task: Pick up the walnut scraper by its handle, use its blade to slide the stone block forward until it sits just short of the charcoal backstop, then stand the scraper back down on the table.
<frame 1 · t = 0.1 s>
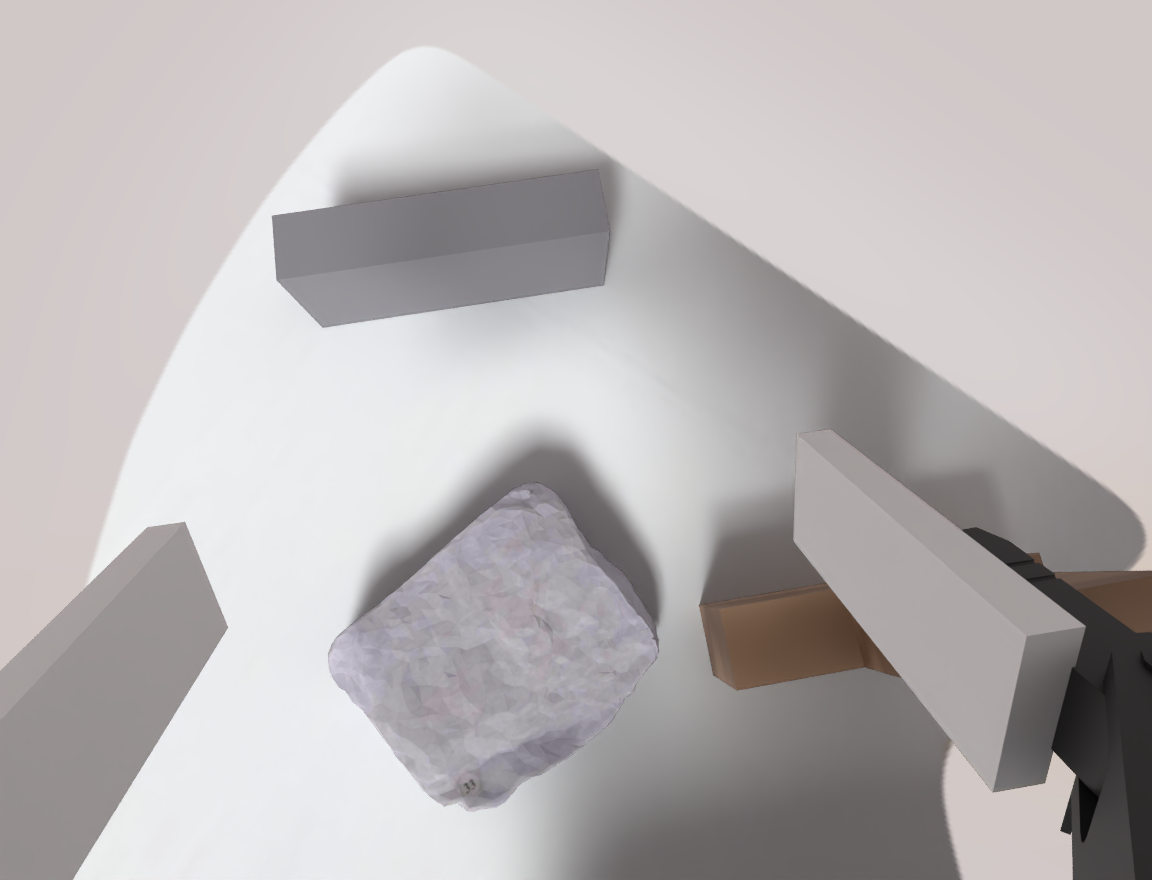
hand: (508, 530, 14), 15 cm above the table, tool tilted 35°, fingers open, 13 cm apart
walnut scraper: (847, 614, 28), on the table
stone block: (511, 645, 28), on the table
charcoal backstop: (460, 278, 32), on the table
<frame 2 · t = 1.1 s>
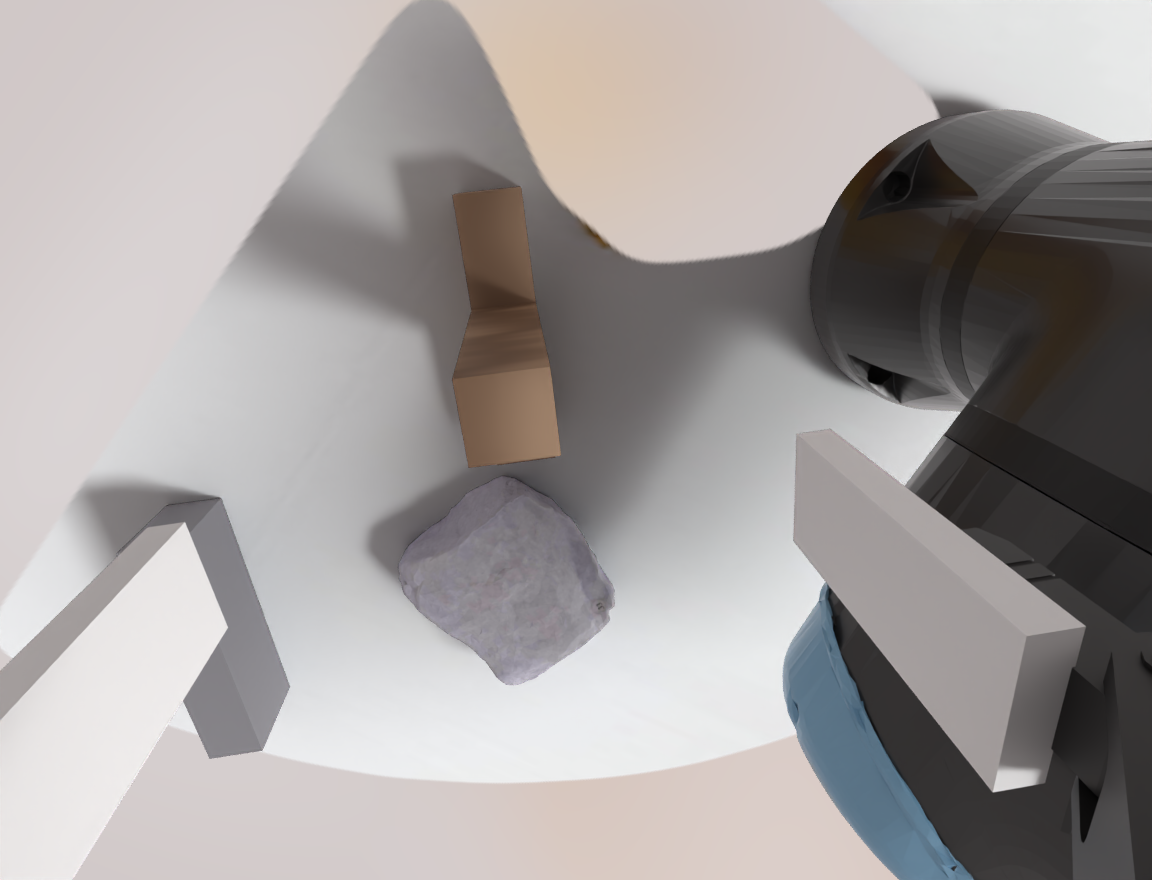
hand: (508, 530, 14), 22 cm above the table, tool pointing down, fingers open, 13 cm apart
walnut scraper: (508, 320, 34), on the table
stone block: (518, 561, 40), on the table
charcoal backstop: (232, 602, 38), on the table
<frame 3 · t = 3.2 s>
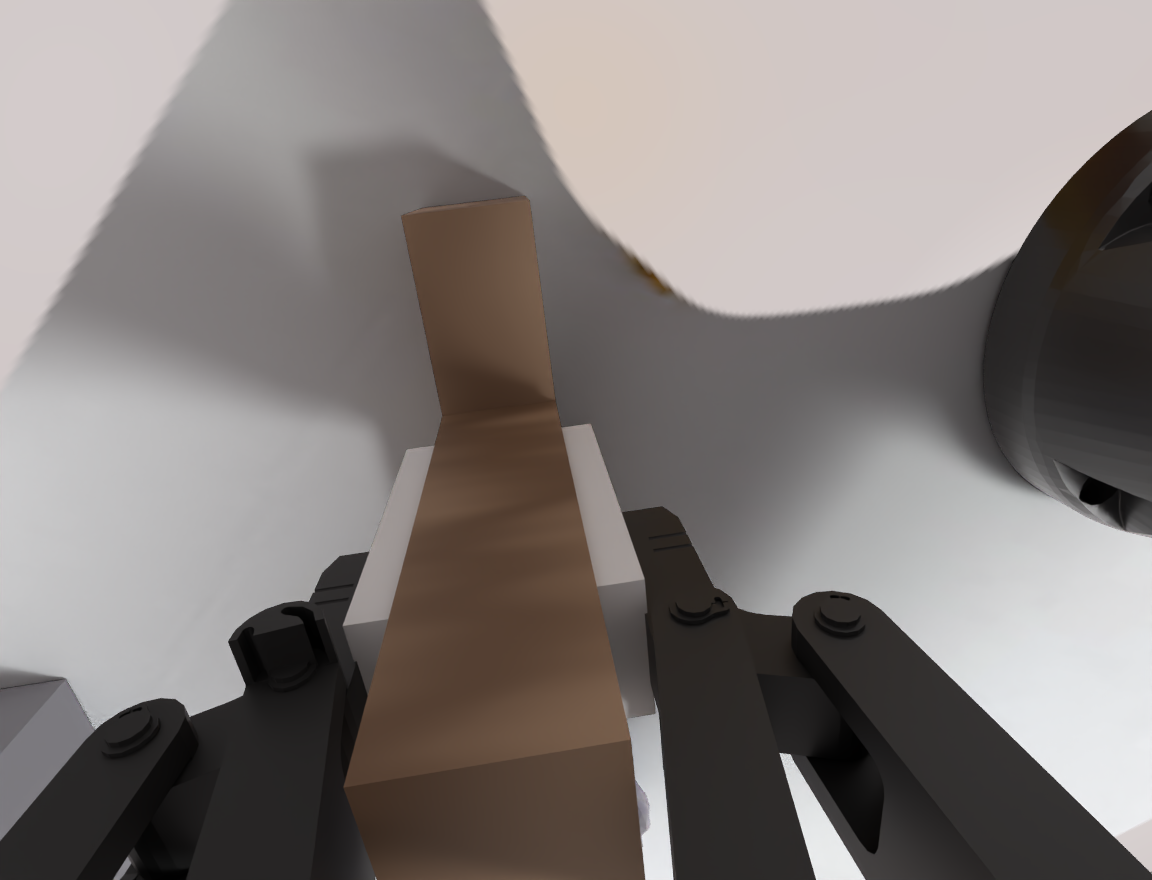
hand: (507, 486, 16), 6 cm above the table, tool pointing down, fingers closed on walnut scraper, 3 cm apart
walnut scraper: (507, 409, 21), on the table, touching gripper
stone block: (508, 750, 27), on the table
charcoal backstop: (101, 815, 26), on the table
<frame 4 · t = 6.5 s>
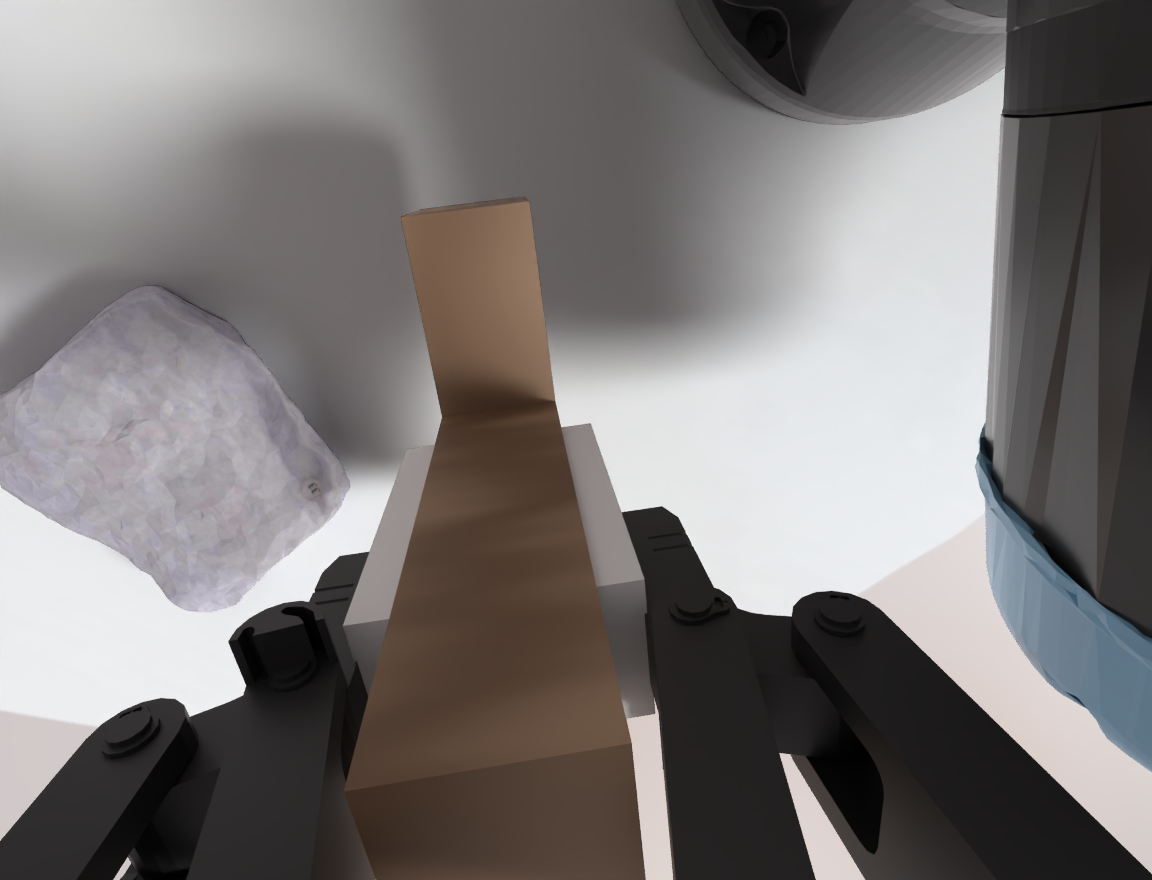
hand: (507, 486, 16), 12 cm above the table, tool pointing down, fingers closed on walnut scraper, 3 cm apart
walnut scraper: (507, 410, 21), point 6 cm above the table, touching gripper
stone block: (213, 431, 27), on the table
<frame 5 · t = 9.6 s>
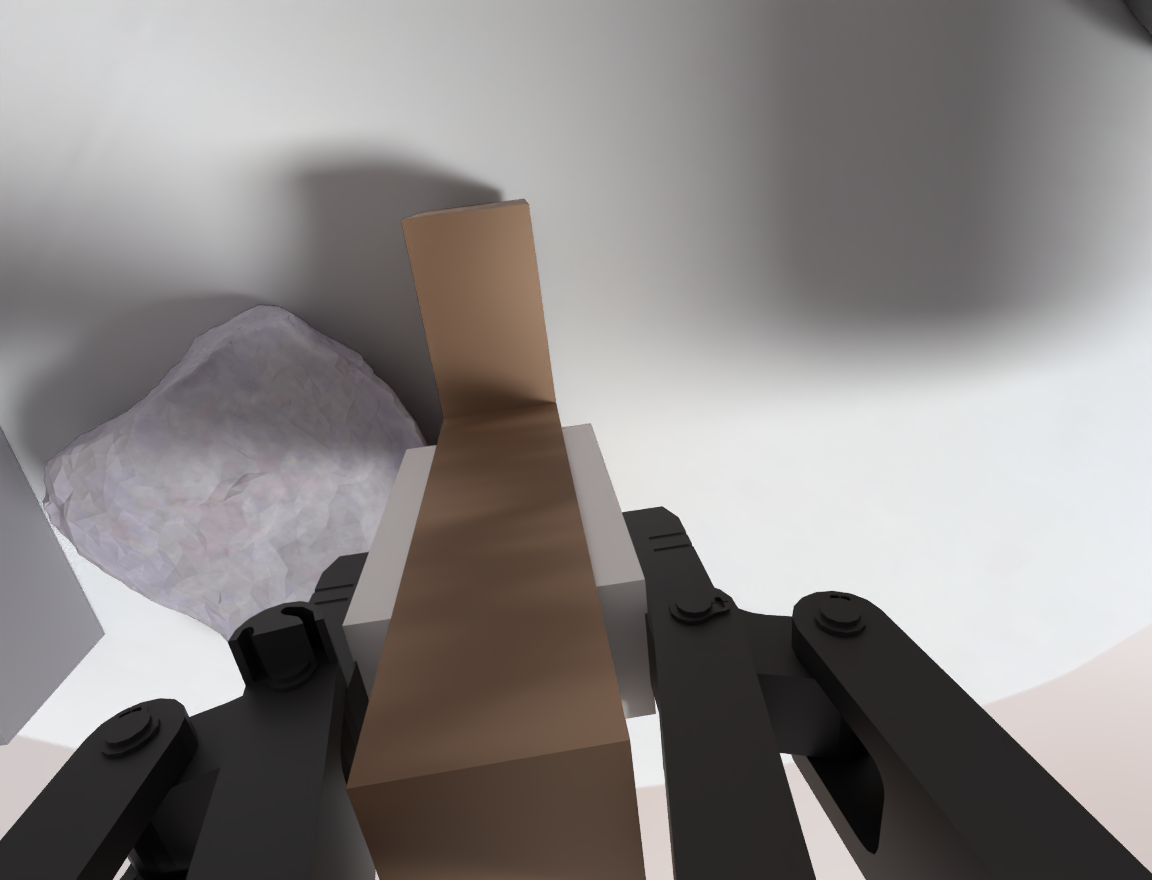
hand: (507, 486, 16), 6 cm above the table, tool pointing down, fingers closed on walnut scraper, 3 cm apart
walnut scraper: (508, 411, 21), point 1 cm above the table, touching gripper
stone block: (320, 478, 23), on the table
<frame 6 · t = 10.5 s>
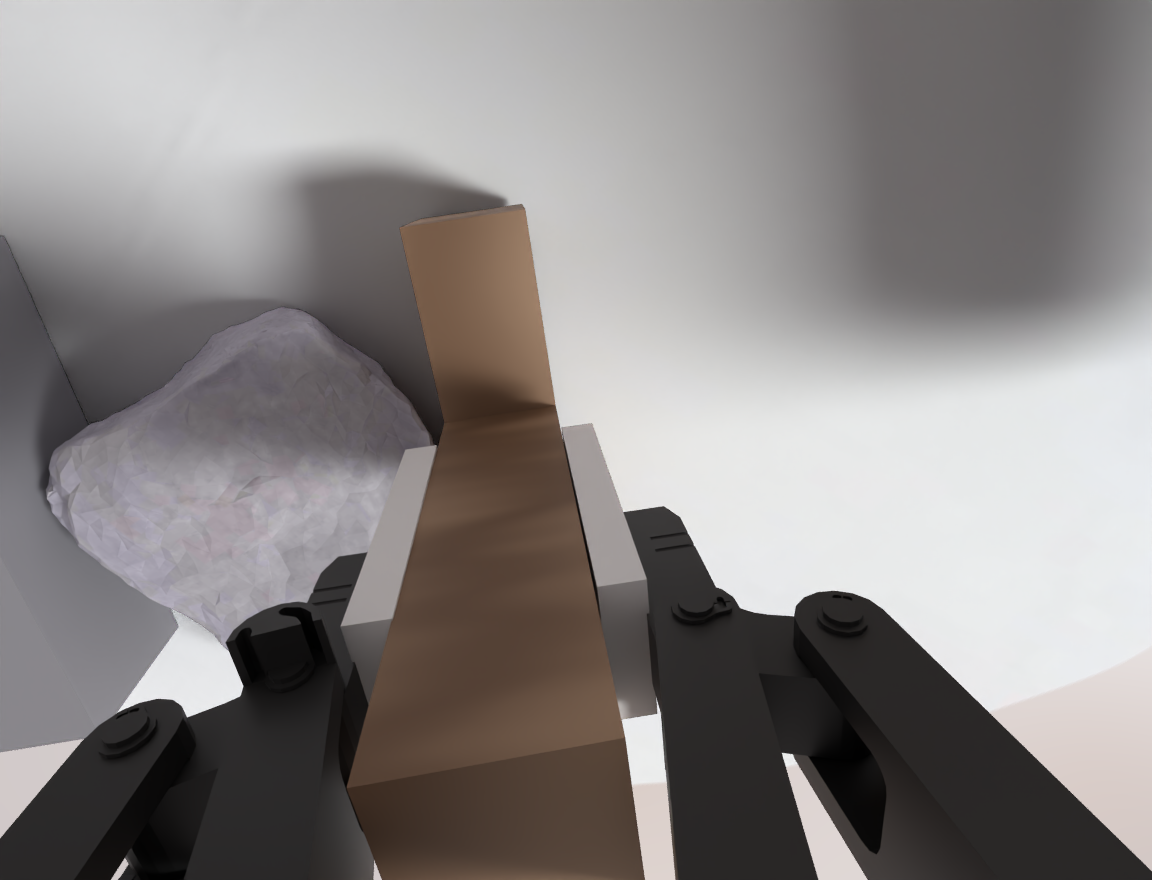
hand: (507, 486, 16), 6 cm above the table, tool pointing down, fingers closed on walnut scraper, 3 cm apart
walnut scraper: (509, 415, 21), point 1 cm above the table, touching gripper, stone block
stone block: (324, 482, 22), on the table, touching walnut scraper
charcoal backstop: (55, 464, 21), on the table
when the fingers open (7 cm above the table, at t = 15.8 s): walnut scraper drops 1 cm, on the table.
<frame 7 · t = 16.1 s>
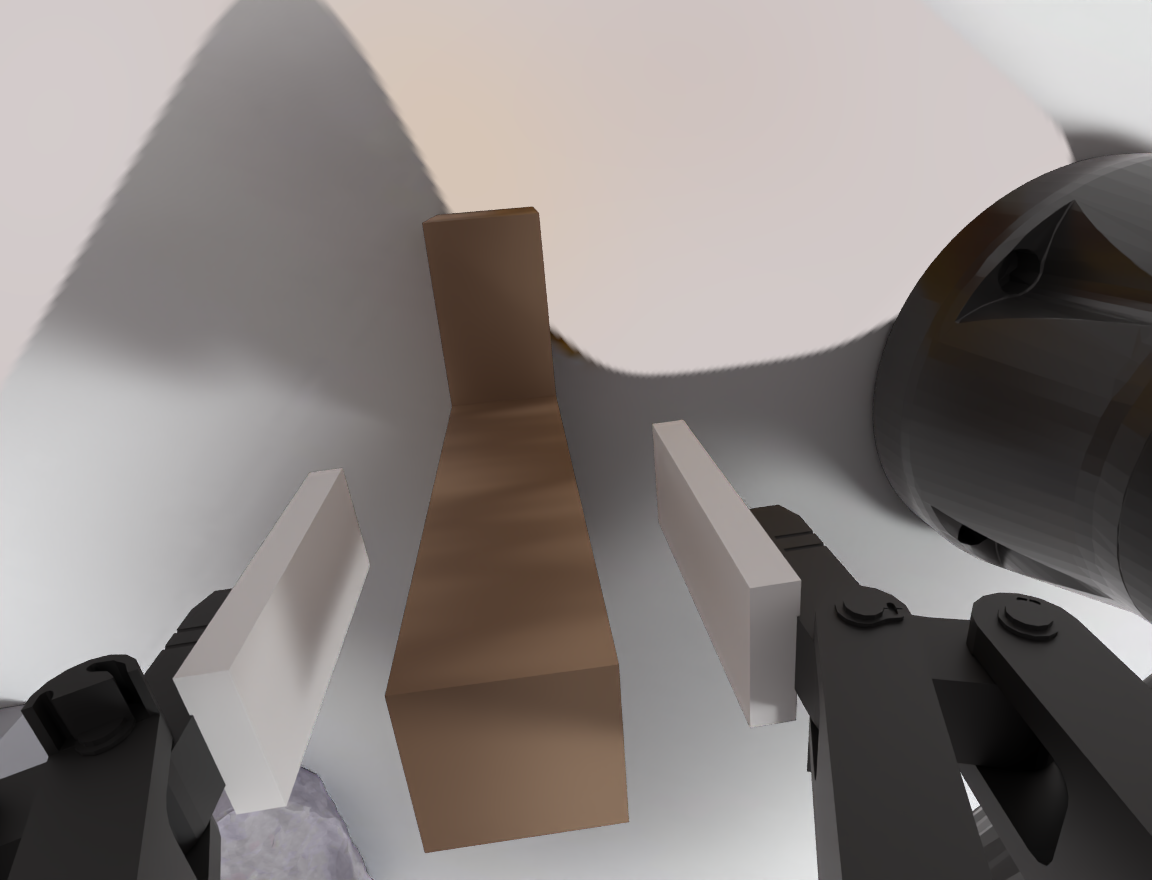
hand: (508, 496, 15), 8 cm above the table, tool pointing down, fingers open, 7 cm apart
walnut scraper: (509, 404, 22), on the table
stone block: (270, 834, 30), on the table
charcoal backstop: (68, 828, 28), on the table
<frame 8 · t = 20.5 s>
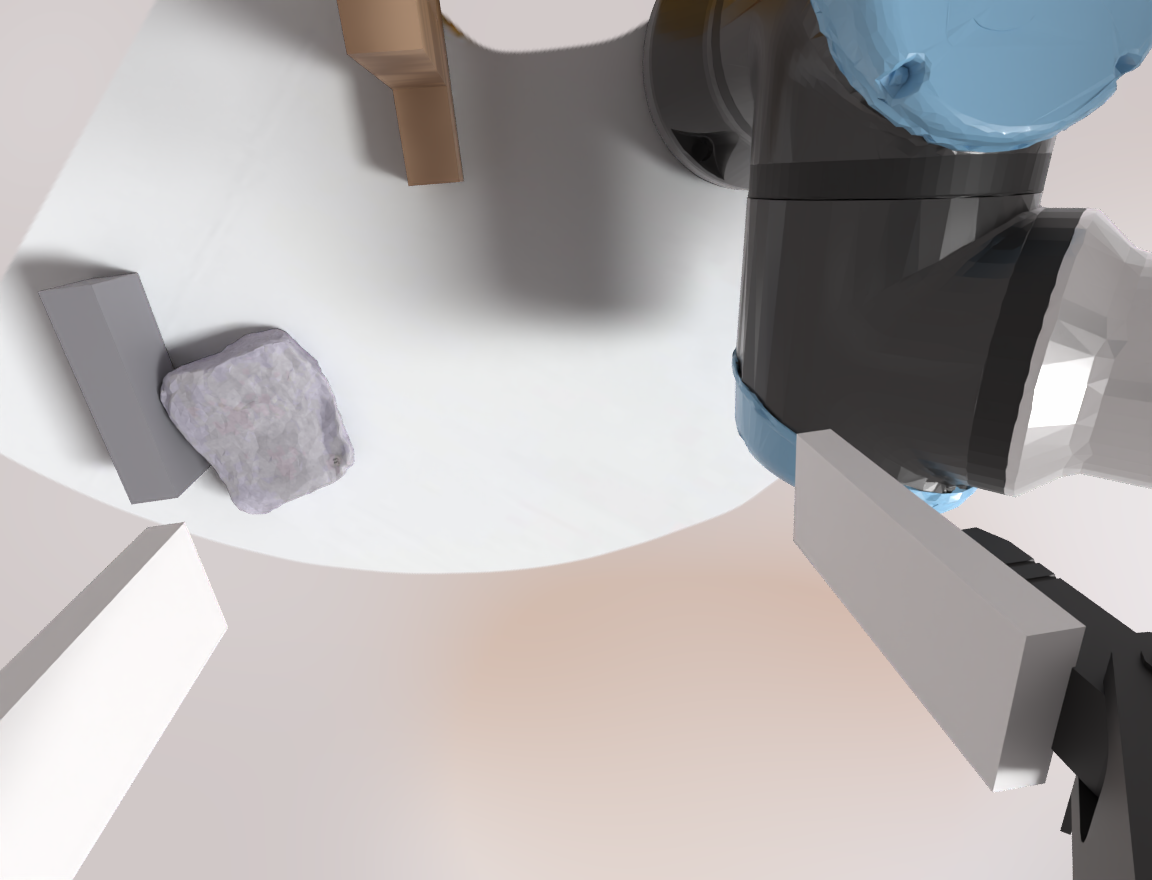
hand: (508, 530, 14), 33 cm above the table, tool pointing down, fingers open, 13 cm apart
walnut scraper: (423, 68, 38), on the table
stone block: (281, 411, 46), on the table
charcoal backstop: (154, 378, 44), on the table
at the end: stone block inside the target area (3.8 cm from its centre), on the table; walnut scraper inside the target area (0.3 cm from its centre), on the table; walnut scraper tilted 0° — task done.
